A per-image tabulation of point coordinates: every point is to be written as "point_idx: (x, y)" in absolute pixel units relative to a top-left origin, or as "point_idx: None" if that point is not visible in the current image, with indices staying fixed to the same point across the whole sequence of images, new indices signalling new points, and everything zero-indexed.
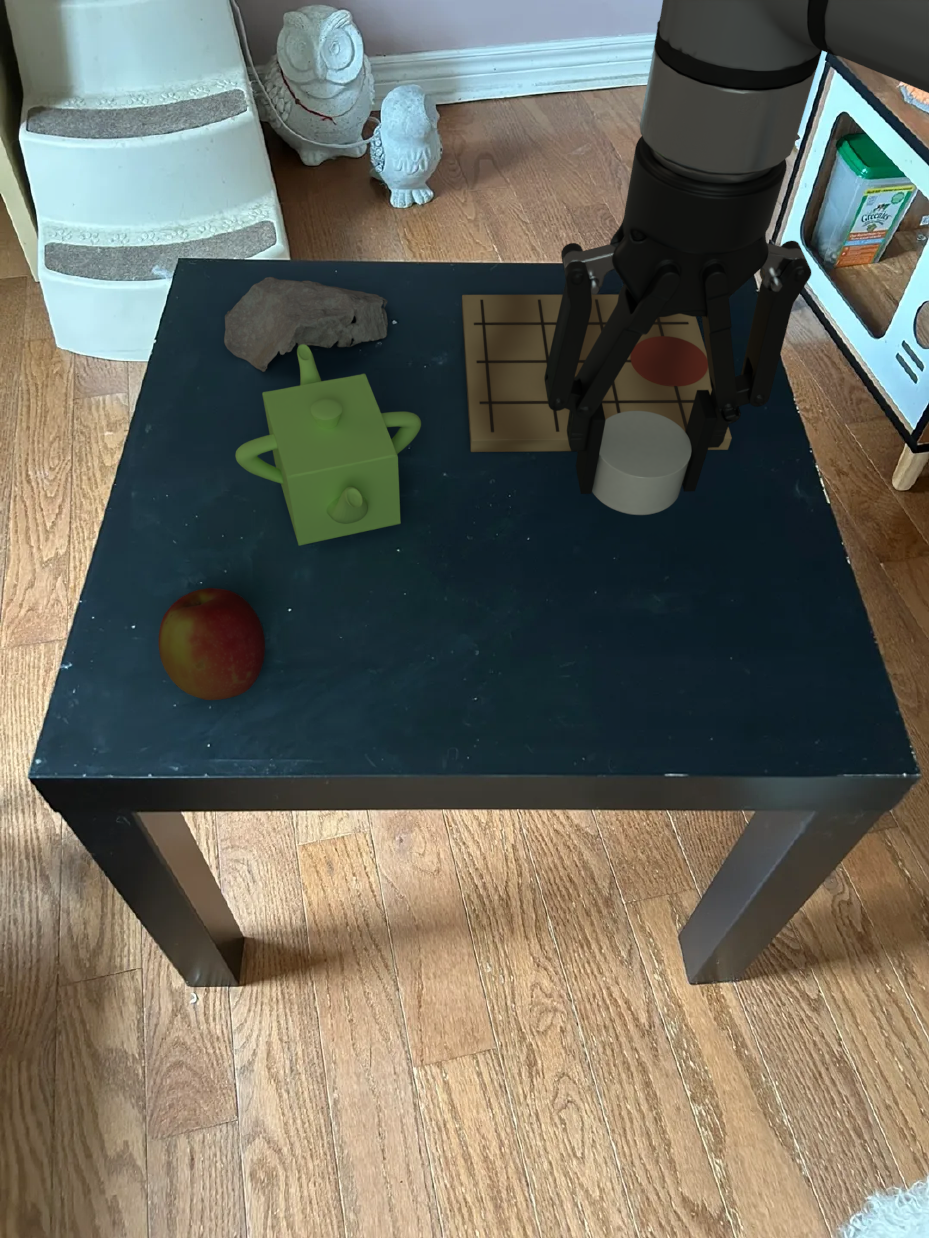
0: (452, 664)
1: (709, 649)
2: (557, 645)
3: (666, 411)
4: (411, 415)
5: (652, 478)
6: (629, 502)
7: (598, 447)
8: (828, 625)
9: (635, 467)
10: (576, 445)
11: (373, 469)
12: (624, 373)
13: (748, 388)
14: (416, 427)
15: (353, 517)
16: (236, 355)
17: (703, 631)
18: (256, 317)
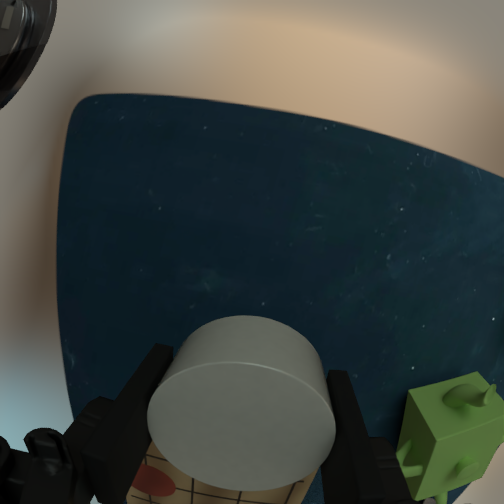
0: (410, 248)
1: (175, 220)
2: (316, 251)
3: (156, 450)
4: None
5: (249, 362)
6: (284, 335)
7: (351, 441)
8: (76, 229)
9: (276, 394)
10: (380, 446)
11: (451, 427)
12: (182, 482)
13: (7, 480)
14: None
15: (466, 386)
16: (432, 499)
17: (175, 241)
18: None
